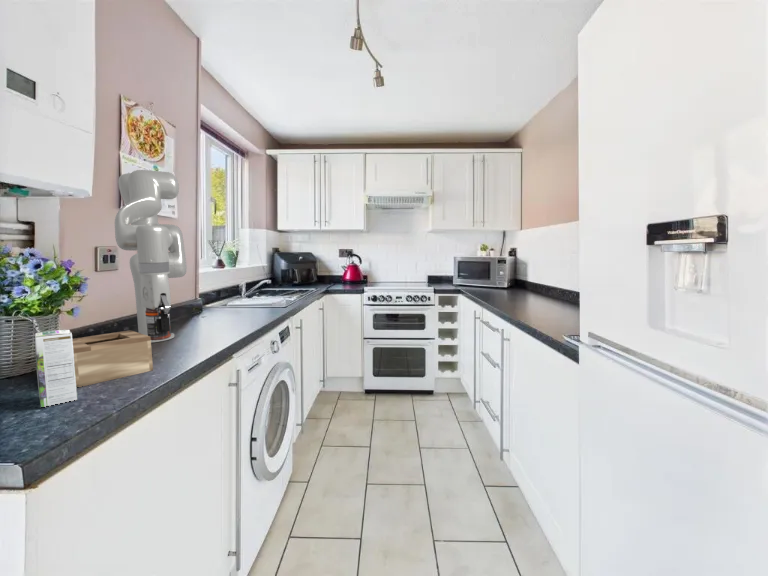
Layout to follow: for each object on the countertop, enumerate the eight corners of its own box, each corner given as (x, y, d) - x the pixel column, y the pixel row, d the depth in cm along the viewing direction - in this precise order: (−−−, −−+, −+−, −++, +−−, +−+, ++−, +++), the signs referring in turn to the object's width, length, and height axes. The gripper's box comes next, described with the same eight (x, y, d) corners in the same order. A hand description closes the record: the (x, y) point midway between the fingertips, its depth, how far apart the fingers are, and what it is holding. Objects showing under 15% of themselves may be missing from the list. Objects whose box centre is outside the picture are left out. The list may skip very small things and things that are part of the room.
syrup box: (39, 401, 77) (32, 332, 76) (76, 393, 82) (69, 328, 80) (40, 408, 73) (33, 336, 72) (79, 400, 77) (72, 331, 76)
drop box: (60, 375, 94) (57, 341, 94) (133, 361, 107) (130, 330, 106) (75, 388, 85) (71, 349, 84) (153, 370, 97) (150, 336, 96)
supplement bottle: (164, 334, 114) (161, 298, 112) (175, 337, 111) (172, 299, 109) (143, 339, 108) (140, 300, 107) (154, 342, 105) (151, 302, 104)
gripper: (128, 267, 109) (133, 327, 112) (151, 271, 99) (156, 337, 101) (157, 266, 115) (161, 323, 117) (181, 269, 104) (185, 332, 107)
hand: (159, 329), depth 109 cm, fingers closed on supplement bottle, 6 cm apart
